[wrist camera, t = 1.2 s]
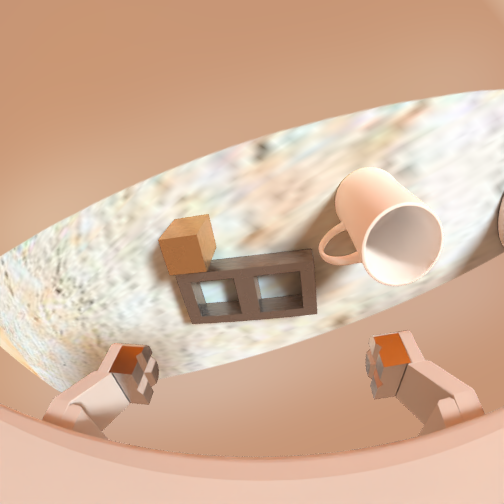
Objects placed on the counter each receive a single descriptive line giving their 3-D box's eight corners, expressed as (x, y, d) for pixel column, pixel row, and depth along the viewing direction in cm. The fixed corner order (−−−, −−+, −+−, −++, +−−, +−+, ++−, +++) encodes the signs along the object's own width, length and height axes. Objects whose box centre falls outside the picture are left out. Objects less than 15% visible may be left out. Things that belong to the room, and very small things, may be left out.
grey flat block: (311, 248, 38) (313, 260, 35) (315, 300, 41) (317, 313, 39) (181, 263, 40) (175, 275, 37) (196, 310, 44) (192, 323, 41)
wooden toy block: (208, 213, 37) (196, 234, 31) (216, 246, 39) (206, 271, 33) (174, 219, 37) (158, 240, 32) (183, 251, 39) (169, 275, 34)
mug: (321, 251, 38) (336, 311, 27) (298, 189, 34) (308, 232, 24) (406, 221, 35) (449, 270, 24) (391, 157, 31) (439, 186, 21)
